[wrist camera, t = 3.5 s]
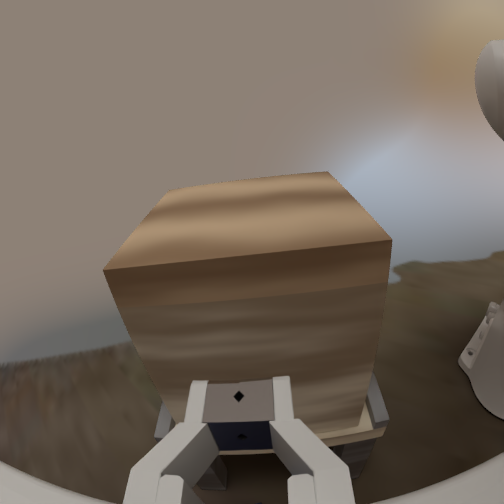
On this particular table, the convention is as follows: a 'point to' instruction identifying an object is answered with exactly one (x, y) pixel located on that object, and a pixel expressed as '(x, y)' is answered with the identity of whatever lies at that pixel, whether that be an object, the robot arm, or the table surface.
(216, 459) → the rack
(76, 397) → the table surface
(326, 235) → the wood grain block
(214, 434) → the robot arm
